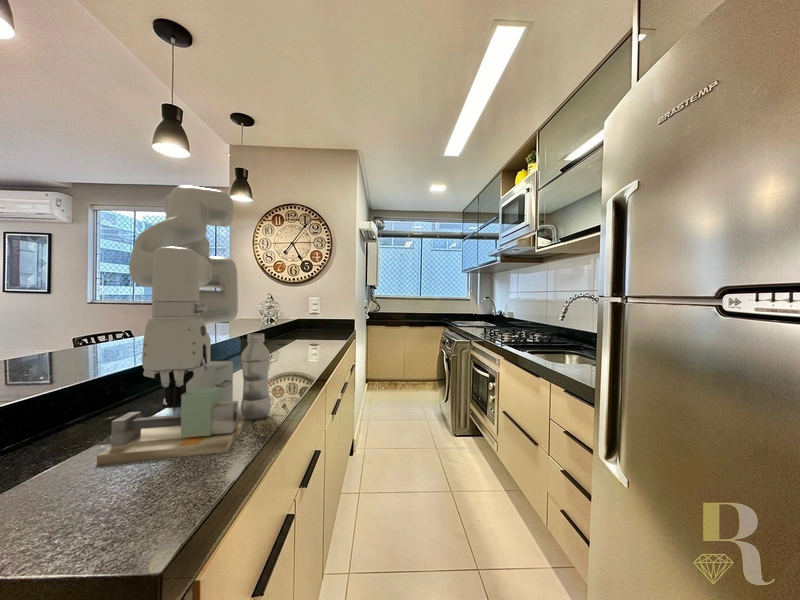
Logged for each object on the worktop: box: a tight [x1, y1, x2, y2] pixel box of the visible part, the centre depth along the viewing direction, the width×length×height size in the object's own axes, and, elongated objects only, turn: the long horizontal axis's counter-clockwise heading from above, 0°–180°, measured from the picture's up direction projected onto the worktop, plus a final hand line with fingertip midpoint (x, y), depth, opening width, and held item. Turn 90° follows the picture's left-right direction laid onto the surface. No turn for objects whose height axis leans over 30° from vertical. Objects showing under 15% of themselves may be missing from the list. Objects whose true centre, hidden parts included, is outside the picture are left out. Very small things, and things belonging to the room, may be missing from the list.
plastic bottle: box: [240, 333, 272, 420], centre depth 75 cm, size 6×7×20 cm
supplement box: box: [187, 360, 234, 402], centre depth 79 cm, size 7×7×13 cm
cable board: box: [96, 400, 245, 465], centre depth 61 cm, size 12×20×7 cm, turn 102°
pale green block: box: [180, 387, 220, 438], centre depth 62 cm, size 5×5×8 cm
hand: (175, 405), depth 61 cm, fingers closed
